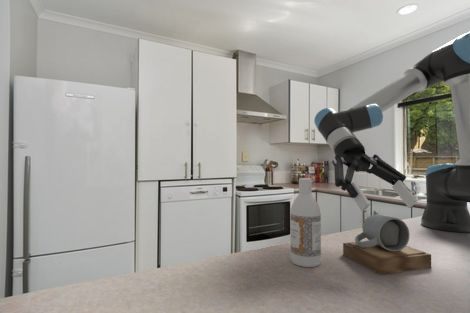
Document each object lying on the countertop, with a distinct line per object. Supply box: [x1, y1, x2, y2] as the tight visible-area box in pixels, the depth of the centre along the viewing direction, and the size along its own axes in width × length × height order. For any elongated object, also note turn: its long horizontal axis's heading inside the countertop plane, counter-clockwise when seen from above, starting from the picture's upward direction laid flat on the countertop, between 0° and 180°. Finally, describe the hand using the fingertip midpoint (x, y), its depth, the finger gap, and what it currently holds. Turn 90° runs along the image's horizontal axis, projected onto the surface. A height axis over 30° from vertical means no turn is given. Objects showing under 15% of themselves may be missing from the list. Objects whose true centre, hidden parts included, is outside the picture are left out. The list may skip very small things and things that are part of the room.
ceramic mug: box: [354, 214, 411, 252], centre depth 63 cm, size 11×8×8 cm
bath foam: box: [290, 177, 322, 268], centre depth 61 cm, size 7×7×20 cm
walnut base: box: [342, 240, 432, 276], centre depth 62 cm, size 14×12×3 cm
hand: (390, 206), depth 60 cm, fingers open, 13 cm apart
